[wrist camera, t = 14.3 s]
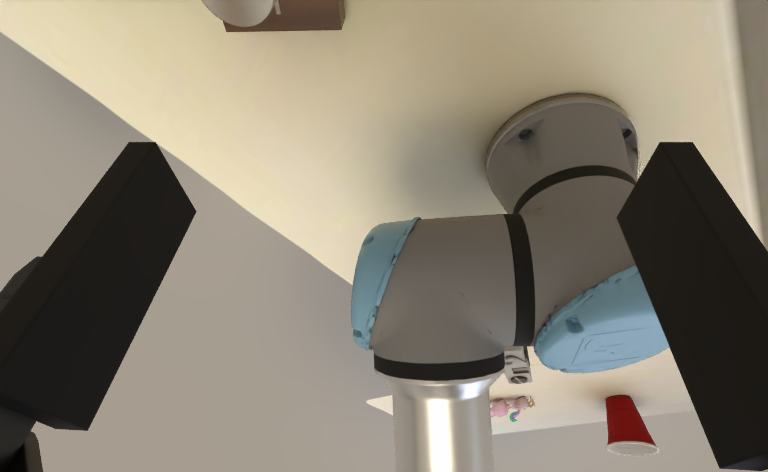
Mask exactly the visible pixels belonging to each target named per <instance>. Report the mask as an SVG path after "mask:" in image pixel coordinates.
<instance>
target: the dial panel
mask: <svg viewBox="0 0 768 472" xmlns="http://www.w3.org/2000/svg"><path fill="white" fill-rule="evenodd" d="M344 19H345V11H344V3H343V0H277V1H276V3H275V5H274V6H273V8H272V10H271V12H270V13H269V15H268V16H267V17H266V19H264V20H263V21H262V22H261V23H259V24H257V25H254V26H249V27H240V26H235V25H232V24H229V23H227V22H225V21H223V23H224V26H225V29H226V32H255V31H306V30H341V29H342V26H343V23H344Z"/></svg>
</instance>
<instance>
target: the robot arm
mask: <svg viewBox="0 0 768 472" xmlns="http://www.w3.org/2000/svg"><path fill="white" fill-rule="evenodd" d="M638 158H639V146H638V138H637V135H636V131H635V129H634V127H633V125H632V123H631V121H630V119H629V118H628V116H627V114H626V113H625V112H624V111H623V110H622V109H621V108H620V107H619V106H618V105H617V104H615V103H614V102H612V101H610V100H608V99H605V98H602V97H599V96H595V95H589V94H567V95H560V96H556V97H552V98H548V99H545V100H542V101H540V102H537V103H535V104H533V105H531V106H529V107H527V108H525V109H523V110H522V111H520V112H519V113H517V114H516V115H514V116H513V117H512V118H511V119H509V120H508V121H507V122H506V123H505V124H504V125H503V126H502V127H501V128H500V130H499V131H498V132H497V133H496V135H495V137H494V138H493V140H492V142H491V144H490V146H489V149H488V152H487V156H486V170H487V177H488V181H489V184H490V187H491V189H492V191H493V193H494V194H495V196H496V197H497V198H498V200H499V201H500V203H501V204H502V206H503V207H504V209H505V210H506V211H507V213H508V214H497V215H482V216H466V217H451V218H436V219H421V218H420V217H415V218H413V219H412V220H406V221H398V222H389V223H383V224H380V225H377V226H376V227H374V228H373V229H372V230H371V231H370V232H369V233H368V235H367V236H366V238H365V240H364V242H363V244H362V247H361V250H360V253H359V256H358V260H357V264H356V269H355V275H354V281H353V290H352V303H351V323H352V327H353V337H354V340H355V342H356V344H357V345H358V346H359V347H362V348H364V349H366V350H372V349H373V351H374V368H375V372H376V374H377V375H378V376H379V377H380V378H381V379H382V380H384V381H385V382H386V383H387V384H388V385H389V386H390V387H391V389H392V395H393V418H394V441H395V464H396V472H494V463H493V448H492V430H491V415H490V399H489V388H490V386H491V385H492V384H493V383H494V382H495V381H496V380H497V379H498V378H499V377H500V376H501V375H502V374H503V373H504V371H505V356H504V348H505V347H510V346H534V352H535V353H536V356H538V357H539V359H540V361H541V362H542V363H543V364H544V365H545V366H546V367H548V368H550V369H553V370H558V369H559V370H560V371H562V372H566V373H589V372H598V371H604V370H610V369H614V368H619V367H623V366H626V365H629V364H633V363H636V362H639V361H641V360H644V359H646V358H648V357H651V356H654V355H656V354H658V353H660V352H662V351H663V350H665V349H667V348H668V347H670V349H671V352H672V354H673V356H674V359H675V361H676V364H677V366H678V369H679V371H680V373H681V376H682V378H683V381H684V383H685V386H686V388H687V390H688V393H689V395H690V398H691V400H692V403H693V405H694V407H695V410H696V412H697V415H698V417H699V420H700V422H701V424H702V427H703V429H704V432H705V434H706V437H707V439H708V442H709V444H710V446H711V449H712V451H713V454H714V456H715V458H716V461H717V463H718V466H719V468H722V469H738V470H754V471H763V470H766V469H768V251H767V250H766V249H765V247H764V246H763V244H762V243H761V241H760V240H759V238H758V237H757V235H756V234H755V233H754V231H753V230H752V228H751V227H750V225H749V224H748V222H747V221H746V219H745V218H744V216H743V215H742V214H741V212H740V211H739V209H738V208H737V206H736V205H735V203H734V202H733V200H732V199H731V198H730V196H729V195H728V193H727V192H726V190H725V189H724V187H723V186H722V184H721V183H720V182H719V180H718V179H717V177H716V176H715V174H714V173H713V171H712V170H711V168H710V167H709V166H708V164H707V163H706V161H705V160H704V158H703V157H702V155H701V154H700V152H699V151H698V149H697V148H696V147H695V145H694V144H693V142H660V143H659V145H658V146H657V148H656V150H655V152H654V153H653V155H652V157H651V159H650V160H649V162H648V164H647V165H646V167H645V169H644V171H643V172H642V174H641V176H640V178H639V179H638V181H637V168H638ZM639 170H640V158H639ZM195 213H196V210H195V208H194V207H193V205H192V203H191V202H190V200H189V198H188V196H187V195H186V193H185V191H184V190H183V188H182V186H181V185H180V183H179V181H178V179H177V178H176V176H175V174H174V173H173V171H172V170H171V168H170V166H169V164H168V162H167V161H166V159H165V158H164V156H163V154H162V152H161V151H160V149H159V147H158V145H157V144H156V142H129V143H128V144H127V146H126V147H125V148H124V150H123V151H122V152H121V154H120V155H119V156H118V158H117V159H116V160H115V162H114V163H113V165H112V166H111V167H110V168H109V169H108V171H107V172H106V173H105V175H104V176H103V177H102V179H101V180H100V182H99V183H98V184H97V185H96V187H95V188H94V189H93V191H92V192H91V193H90V195H89V196H88V197H87V199H86V200H85V201H84V203H83V204H82V205H81V207H80V208H79V209H78V211H77V212H76V213H75V214H74V216H73V217H72V218H71V220H70V221H69V222H68V224H67V225H66V226H65V228H64V229H63V230H62V232H61V233H60V234H59V236H58V237H57V238H56V239H55V241H54V242H53V243H52V245H51V246H50V247H49V249H48V250H47V251H46V253H45V254H44V255H43V257H36V258H34V259H33V260H32V261H31V262H29V263H28V264H27V265H26V266H24V267H23V268H22V269H21V270H20V271H18V272H17V273H16V274H14V276H13V277H12V278H11V280H10V281H9V282H8V283H7V285H6V286H5V287H4V288H3V290H2V291H1V292H0V472H43V469H42V463H41V456H40V449H39V443H38V440H37V438H36V435H35V434H34V433H33V432H31V429H32V427H33V425H34V424H35V422H36V421H38V422H40V423H43V424H45V425H47V426H50V427H52V428H55V429H69V430H84V431H87V430H88V428H89V427H90V425H91V423H92V421H93V419H94V417H95V415H96V413H97V411H98V409H99V407H100V405H101V403H102V401H103V399H104V397H105V395H106V393H107V391H108V388H109V387H110V385H111V383H112V381H113V379H114V376H115V374H116V373H117V370H118V368H119V367H120V364H121V362H122V360H123V358H124V356H125V354H126V352H127V350H128V348H129V346H130V344H131V342H132V340H133V338H134V336H135V334H136V332H137V330H138V328H139V326H140V324H141V322H142V320H143V318H144V316H145V314H146V312H147V310H148V308H149V306H150V304H151V302H152V300H153V298H154V296H155V294H156V292H157V290H158V288H159V286H160V284H161V282H162V280H163V278H164V276H165V274H166V272H167V269H168V268H169V266H170V264H171V262H172V260H173V258H174V256H175V254H176V252H177V250H178V247H179V246H180V244H181V242H182V240H183V237H184V236H185V234H186V232H187V230H188V227H189V225H190V223H191V221H192V219H193V217H194V215H195Z"/></svg>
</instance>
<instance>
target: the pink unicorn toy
mask: <svg viewBox="0 0 768 472" xmlns="http://www.w3.org/2000/svg"><path fill="white" fill-rule="evenodd" d="M530 399H531V401H530V402H528V401H527V399H526V398H525V397H520V398H519V399H517V400H516V401H511V402H510V403H509V404H506V402H505V401H503V400H501V401H499V402H497V403H494V404H493V407H492V408H490V415H491V417H493V416H498V417H503V416H505V415H506V414H507V413H508V409H509V408H512V409H516V410H518V411H517V412H513V413H512V414H511V415H510V420H511V421H512V422H515V421H517V420H515V419H514V418H515V417H517V416H518V415H519V413H520V412H521V411H522V410H525V409H526V408H527V407H532V406H533V405H534V406H535V403H534V401H533V400H532V398H531V396H530ZM531 402H532V403H533V404H532V405H530V403H531Z"/></svg>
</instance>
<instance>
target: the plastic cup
mask: <svg viewBox="0 0 768 472" xmlns="http://www.w3.org/2000/svg"><path fill="white" fill-rule="evenodd" d="M606 409H607V424H608V435H609V436H608V445H607V447H606V449H607V450H608V451H610V452H612V453H615V454H620V455H627V456H648V455H653V454H657V453H658V452H659V449H658V447H657V446H656V445H655V443H654V442H653V440H652V438H651V436H650V434H649V433H648V431H647V429H646V426H645V424H644V422H643V420H642V418H641V416H640V414H639V412H638V411H637V409H636V407H635V405H634V403H633V401H632V400H631V398H630V397H629V396H624V395H618V396H612V397H609V398H607V399H606Z"/></svg>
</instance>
